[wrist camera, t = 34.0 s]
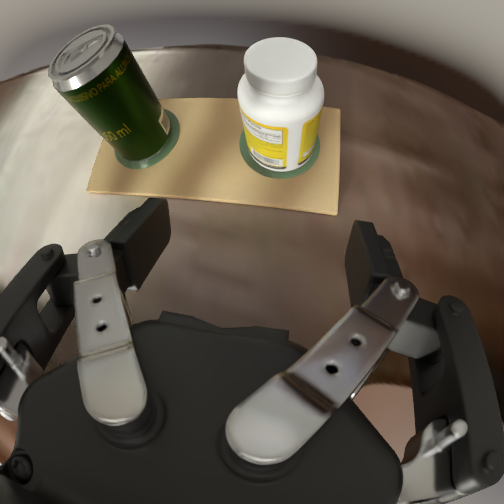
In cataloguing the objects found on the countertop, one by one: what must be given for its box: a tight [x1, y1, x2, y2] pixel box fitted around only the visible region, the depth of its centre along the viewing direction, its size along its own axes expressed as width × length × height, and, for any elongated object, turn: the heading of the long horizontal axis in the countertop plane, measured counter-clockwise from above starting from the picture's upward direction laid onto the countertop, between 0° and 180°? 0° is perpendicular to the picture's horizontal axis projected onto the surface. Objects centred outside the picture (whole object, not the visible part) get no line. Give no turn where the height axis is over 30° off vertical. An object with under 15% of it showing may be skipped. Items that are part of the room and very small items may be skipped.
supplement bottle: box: [237, 37, 324, 172], centre depth 18 cm, size 5×5×10 cm
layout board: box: [86, 98, 340, 216], centre depth 24 cm, size 22×10×1 cm, turn 82°
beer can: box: [48, 25, 171, 161], centre depth 18 cm, size 5×5×12 cm
